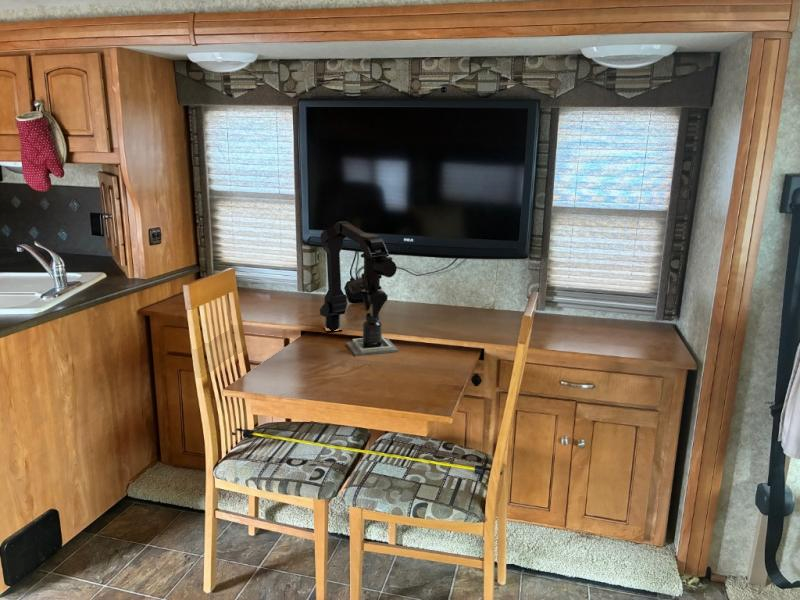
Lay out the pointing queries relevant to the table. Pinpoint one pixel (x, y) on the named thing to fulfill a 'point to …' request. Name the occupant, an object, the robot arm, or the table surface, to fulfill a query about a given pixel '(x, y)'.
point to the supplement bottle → (372, 332)
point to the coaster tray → (361, 350)
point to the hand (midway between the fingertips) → (371, 313)
